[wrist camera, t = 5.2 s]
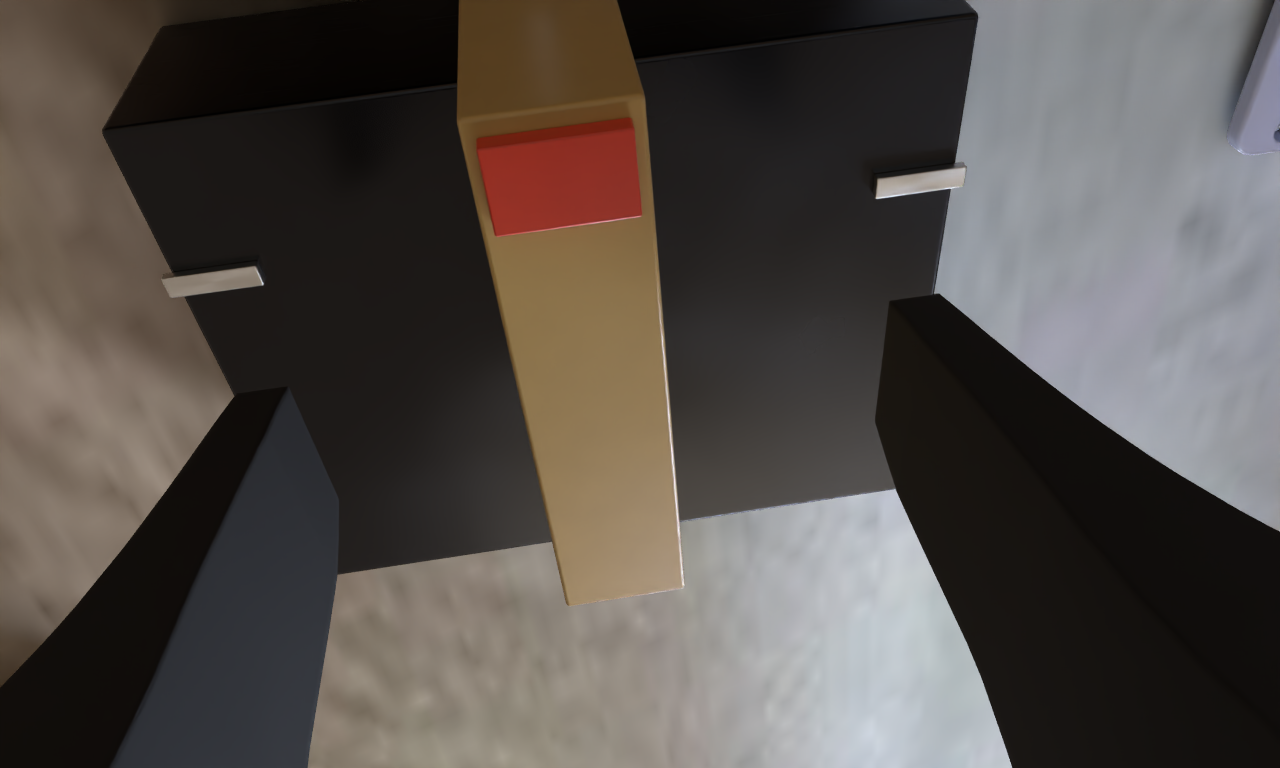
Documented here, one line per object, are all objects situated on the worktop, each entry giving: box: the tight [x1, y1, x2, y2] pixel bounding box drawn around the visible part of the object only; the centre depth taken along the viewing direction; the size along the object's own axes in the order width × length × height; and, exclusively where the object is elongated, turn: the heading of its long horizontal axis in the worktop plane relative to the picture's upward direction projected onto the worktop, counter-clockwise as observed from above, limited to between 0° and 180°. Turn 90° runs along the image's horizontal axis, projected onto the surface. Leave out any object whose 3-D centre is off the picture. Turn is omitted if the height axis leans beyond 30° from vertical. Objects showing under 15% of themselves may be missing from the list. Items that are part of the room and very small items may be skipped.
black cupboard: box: [102, 0, 978, 575], centre depth 17 cm, size 14×12×4 cm
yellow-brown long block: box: [457, 0, 685, 606], centre depth 13 cm, size 8×2×4 cm, turn 5°
